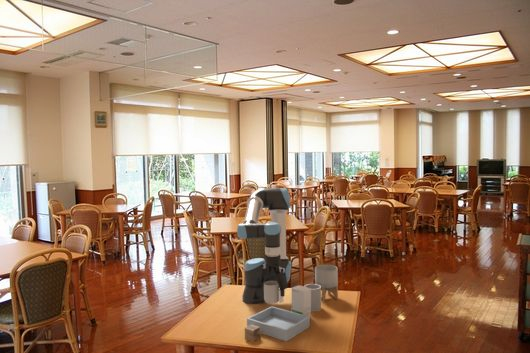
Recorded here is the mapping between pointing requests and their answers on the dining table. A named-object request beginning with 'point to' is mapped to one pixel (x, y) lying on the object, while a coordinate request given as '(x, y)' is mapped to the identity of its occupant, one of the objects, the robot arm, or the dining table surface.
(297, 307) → the skincare box
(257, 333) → the walnut cube
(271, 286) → the cup
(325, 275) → the planter
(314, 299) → the cup
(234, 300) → the dining table surface
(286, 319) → the tote
